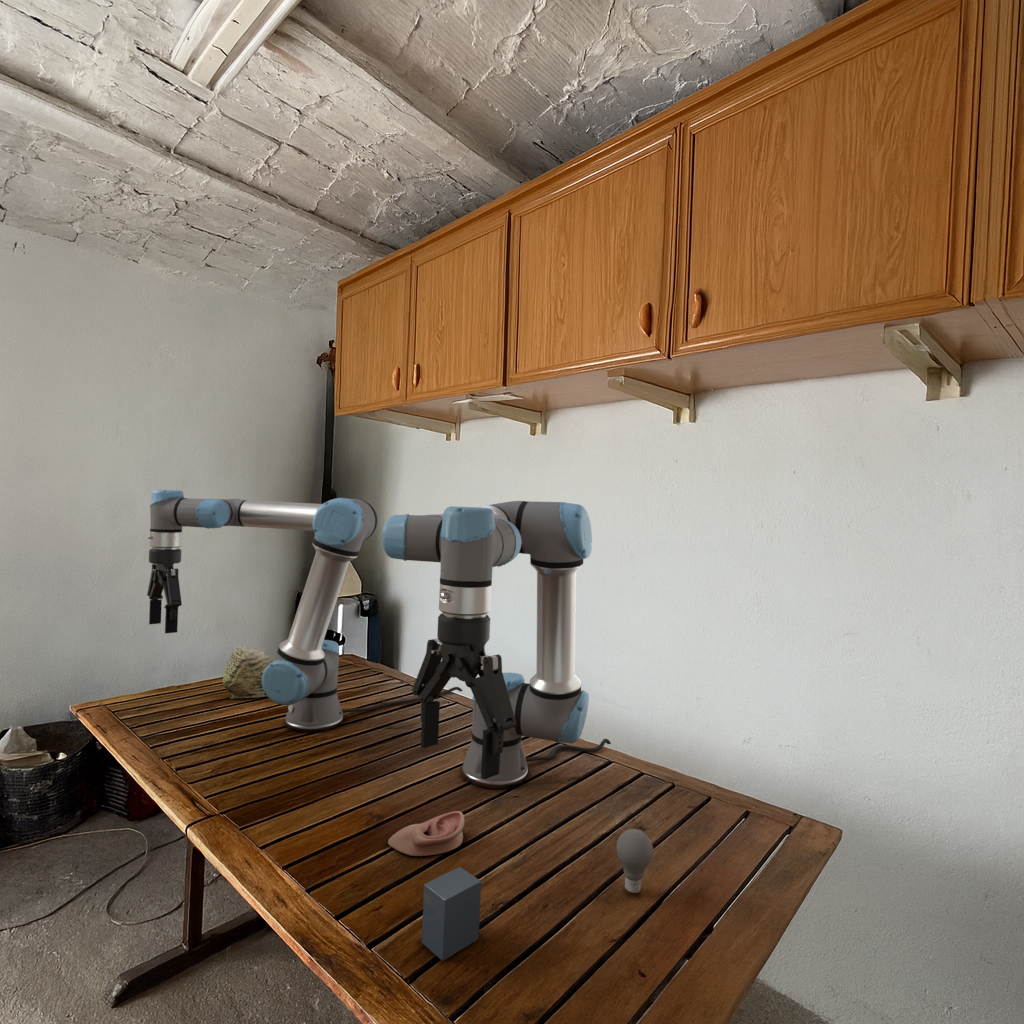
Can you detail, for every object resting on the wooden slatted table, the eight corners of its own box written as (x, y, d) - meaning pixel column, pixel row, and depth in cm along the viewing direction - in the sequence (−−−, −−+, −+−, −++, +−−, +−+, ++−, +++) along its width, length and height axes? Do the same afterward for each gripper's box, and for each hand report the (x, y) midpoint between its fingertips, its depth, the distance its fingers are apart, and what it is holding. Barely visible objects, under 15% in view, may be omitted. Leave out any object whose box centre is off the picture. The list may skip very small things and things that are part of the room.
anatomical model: (381, 829, 114) (405, 800, 125) (380, 851, 114) (404, 820, 125) (452, 840, 111) (469, 809, 122) (451, 862, 111) (469, 830, 123)
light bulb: (610, 879, 108) (613, 822, 108) (644, 879, 109) (647, 822, 109) (619, 902, 102) (622, 840, 102) (655, 901, 103) (658, 840, 103)
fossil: (218, 695, 195) (220, 647, 195) (278, 685, 208) (279, 640, 207) (228, 703, 189) (230, 653, 188) (289, 692, 201) (290, 645, 201)
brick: (421, 942, 91) (423, 884, 91) (457, 922, 96) (459, 866, 96) (442, 961, 88) (445, 900, 88) (478, 939, 93) (481, 881, 92)
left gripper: (136, 544, 173) (133, 621, 174) (164, 552, 156) (161, 638, 156) (166, 544, 179) (163, 618, 179) (197, 551, 161) (194, 634, 161)
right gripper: (393, 603, 97) (387, 740, 98) (506, 632, 80) (498, 799, 80) (432, 599, 103) (426, 729, 103) (546, 625, 85) (539, 782, 85)
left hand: (162, 628), depth 168 cm, fingers open, 13 cm apart
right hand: (458, 760), depth 92 cm, fingers open, 13 cm apart
